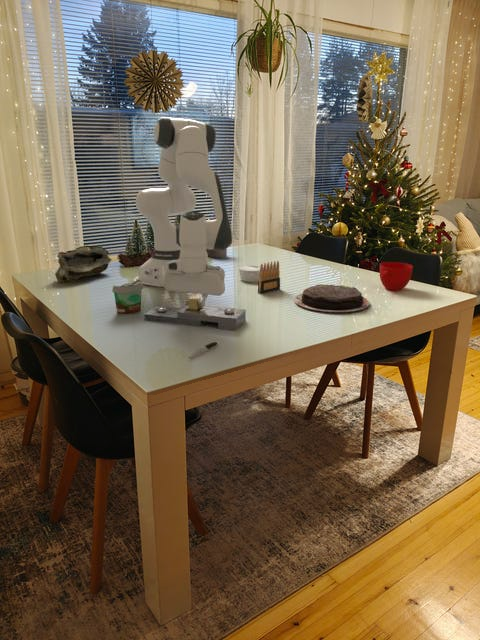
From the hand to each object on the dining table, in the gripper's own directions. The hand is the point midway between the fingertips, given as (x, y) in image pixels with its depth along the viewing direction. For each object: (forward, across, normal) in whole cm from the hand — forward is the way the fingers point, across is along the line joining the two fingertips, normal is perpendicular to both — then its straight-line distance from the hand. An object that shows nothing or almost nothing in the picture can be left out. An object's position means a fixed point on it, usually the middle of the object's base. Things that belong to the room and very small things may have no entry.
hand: (194, 305), depth 163 cm
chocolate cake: (+6, -40, -36) cm, 54 cm away
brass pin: (+5, 0, 0) cm, 5 cm away
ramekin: (+6, -2, -60) cm, 60 cm away
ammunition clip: (+5, -14, -44) cm, 46 cm away
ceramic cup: (+5, -61, -63) cm, 88 cm away
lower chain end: (+5, +6, 0) cm, 8 cm away
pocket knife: (+6, -13, +25) cm, 29 cm away
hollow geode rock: (+6, +68, -39) cm, 79 cm away
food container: (+5, +24, -2) cm, 25 cm away
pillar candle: (+6, +29, -102) cm, 106 cm away
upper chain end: (+5, -6, 0) cm, 8 cm away
